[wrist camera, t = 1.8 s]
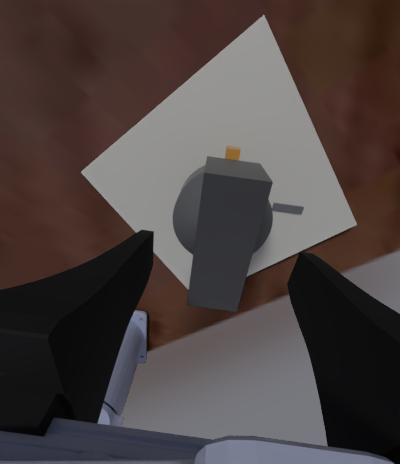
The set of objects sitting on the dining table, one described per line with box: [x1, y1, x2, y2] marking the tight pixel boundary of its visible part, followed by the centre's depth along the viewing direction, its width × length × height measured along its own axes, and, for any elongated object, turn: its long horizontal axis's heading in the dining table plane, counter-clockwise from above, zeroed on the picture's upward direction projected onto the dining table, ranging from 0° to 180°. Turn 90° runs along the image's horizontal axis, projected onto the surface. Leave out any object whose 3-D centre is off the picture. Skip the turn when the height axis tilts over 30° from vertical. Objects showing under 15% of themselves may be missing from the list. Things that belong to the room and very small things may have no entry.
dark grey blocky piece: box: [173, 146, 273, 312], centre depth 15 cm, size 8×6×6 cm
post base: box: [81, 15, 357, 290], centre depth 19 cm, size 16×16×2 cm
